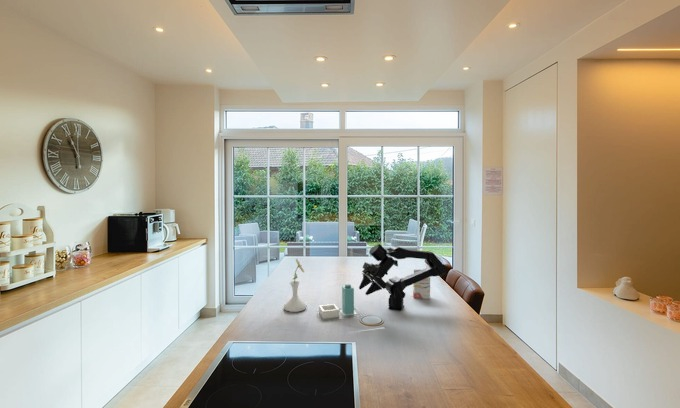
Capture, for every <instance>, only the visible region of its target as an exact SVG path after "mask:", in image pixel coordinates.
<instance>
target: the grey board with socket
mask: <svg viewBox="0 0 680 408" xmlns="http://www.w3.org/2000/svg"><path fill="white" fill-rule="evenodd" d="M315 312H316V314H317V316H318V318H319V319H320V321H321V322H329V321H334V320H336V321H337V320H344V319H351V318H358V317H359V318H360V317H362V314H361V313H359V312H358V310H356V308H355V307H354V313H351V314H345V313H344V312H343V311H342V307H340V308H339V307H338V306H337V305H336V304H335V303H331V304H322V305H321V304H320V305H318V310H315Z"/></svg>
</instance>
